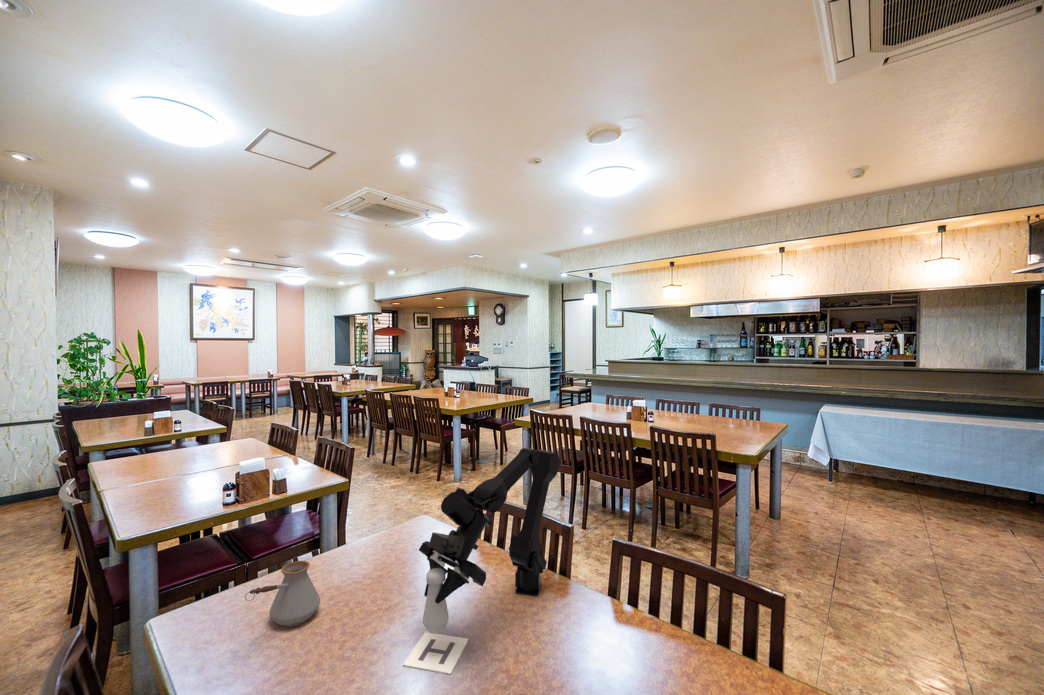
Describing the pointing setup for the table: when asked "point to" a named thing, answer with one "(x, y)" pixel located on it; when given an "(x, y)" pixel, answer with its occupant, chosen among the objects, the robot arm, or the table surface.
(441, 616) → the salt shaker
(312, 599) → the coffee pot
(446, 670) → the letter card
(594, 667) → the table surface
